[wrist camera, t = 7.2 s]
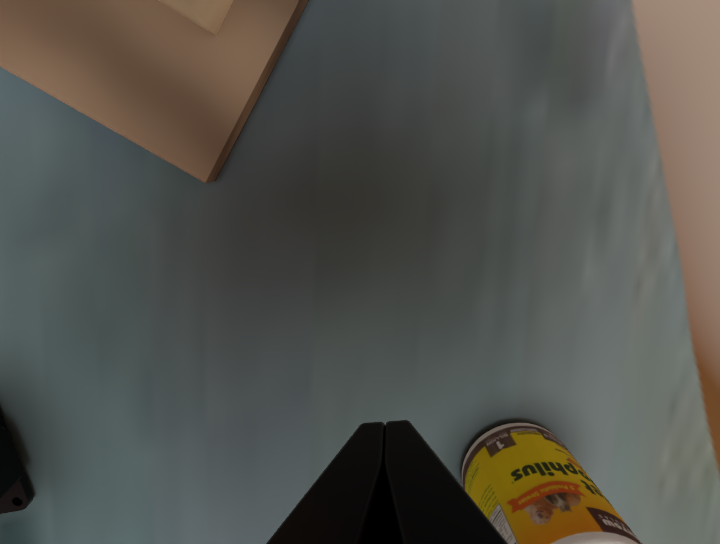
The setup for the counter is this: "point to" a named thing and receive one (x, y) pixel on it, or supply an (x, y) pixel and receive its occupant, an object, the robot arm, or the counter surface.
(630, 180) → the counter surface
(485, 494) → the supplement bottle
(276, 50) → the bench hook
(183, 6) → the block
